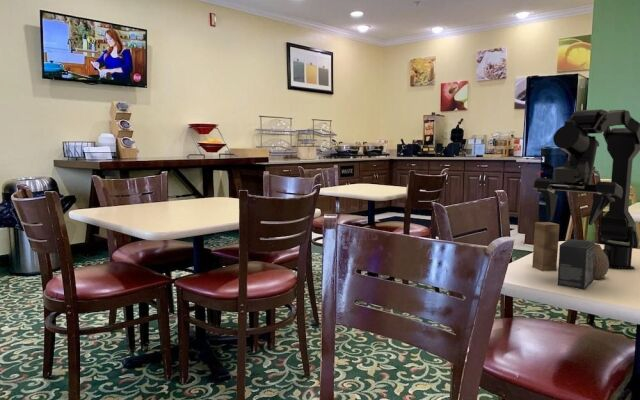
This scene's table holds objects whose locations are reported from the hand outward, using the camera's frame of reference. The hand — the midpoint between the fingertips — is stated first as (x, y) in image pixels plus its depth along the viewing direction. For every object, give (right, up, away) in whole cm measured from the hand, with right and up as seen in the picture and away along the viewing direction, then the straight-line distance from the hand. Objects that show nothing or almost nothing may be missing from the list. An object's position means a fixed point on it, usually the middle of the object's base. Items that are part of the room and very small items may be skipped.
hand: (569, 222), depth 113 cm
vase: (+12, -15, +11) cm, 22 cm away
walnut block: (+3, -14, +19) cm, 23 cm away
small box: (+4, -16, +5) cm, 17 cm away
